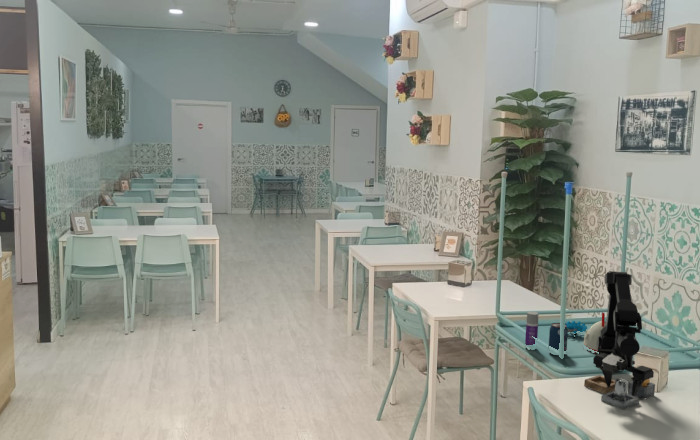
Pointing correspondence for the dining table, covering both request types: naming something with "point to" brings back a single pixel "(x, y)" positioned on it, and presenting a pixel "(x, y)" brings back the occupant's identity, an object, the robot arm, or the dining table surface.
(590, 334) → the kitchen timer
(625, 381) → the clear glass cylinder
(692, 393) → the dining table surface
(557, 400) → the dining table surface
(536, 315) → the container
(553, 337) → the soda can
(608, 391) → the brown wooden tray
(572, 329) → the blue irregular lump
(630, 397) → the socket block
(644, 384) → the plunger
